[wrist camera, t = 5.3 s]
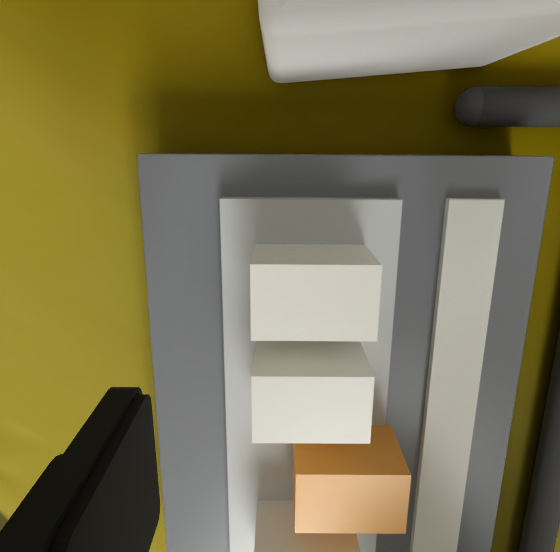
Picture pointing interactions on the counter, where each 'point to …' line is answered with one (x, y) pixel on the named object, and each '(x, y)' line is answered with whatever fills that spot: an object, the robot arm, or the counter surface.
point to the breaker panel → (200, 314)
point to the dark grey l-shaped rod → (556, 421)
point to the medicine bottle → (397, 35)
